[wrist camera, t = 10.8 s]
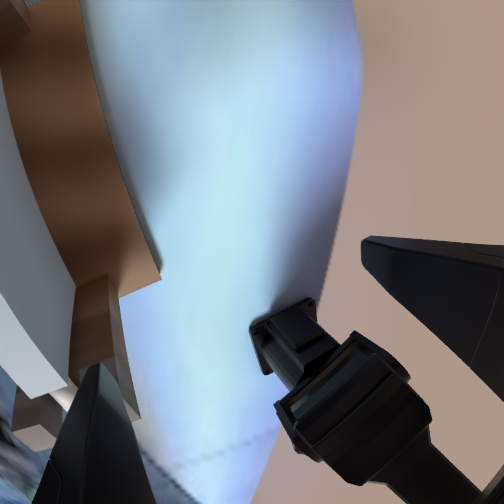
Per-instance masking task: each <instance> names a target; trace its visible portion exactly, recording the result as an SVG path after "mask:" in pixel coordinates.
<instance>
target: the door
mask: <svg viewBox="0 0 504 504" xmlns="http://www.w3.org/2000/svg"><path fill="white" fill-rule="evenodd" d="M75 289H76V285H75V283H74V281H73V280H72V278H71V276H70V274H69V272H68V270H67V268H66V266H65V264H64V262H63V260H62V258H61V256H60V254H59V252H58V250H57V248H56V246H55V244H54V241H53V239H52V237H51V235H50V233H49V230H48V228H47V226H46V224H45V221H44V219H43V216H42V214H41V212H40V209H39V207H38V204H37V202H36V199H35V197H34V194H33V191H32V189H31V186H30V183H29V180H28V177H27V175H26V172H25V169H24V166H23V163H22V159H21V156H20V153H19V150H18V146H17V143H16V139H15V136H14V132H13V128H12V125H11V121H10V116H9V112H8V108H7V103H6V99H5V94H4V89H3V83H2V77H1V71H0V365H1V366H2V367H3V369H4V370H5V371H6V372H7V373H8V374H9V376H10V377H11V378H12V379H13V380H14V381H15V382H16V384H17V385H18V386H19V387H20V388H21V389H22V390H23V391H24V392H25V393H26V394H27V395H28V396H29V398H30V399H33V398H35V397H38V396H41V395H44V394H47V393H49V394H50V395H51V396H52V397H53V398H54V399H55V400H56V401H57V402H58V403H59V404H60V405H61V406H62V407H63V408H64V409H65V410H66V411H67V412H68V410H69V408H70V406H71V403H72V401H73V399H74V397H75V394H76V392H77V390H78V387H77V386H76V385H75V384H74V383H73V382H72V381H71V379H70V378H69V377H68V369H69V348H70V334H71V323H72V313H73V305H74V297H75Z"/></svg>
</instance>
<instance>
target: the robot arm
mask: <svg viewBox="0 0 504 504" xmlns="http://www.w3.org/2000/svg"><path fill="white" fill-rule="evenodd" d="M361 261H362V264H363V266H364V268H365V269H366V270H367V271H368V272H369V273H370V274H371V275H372V276H373V277H374V278H375V279H376V280H377V281H378V282H379V283H380V284H381V285H382V287H384V289H385V290H386V291H387V292H388V293H389V294H390V295H392V296H393V297H394V298H395V299H396V300H397V301H398V302H399V303H400V304H401V305H403V306H404V307H405V308H406V309H407V310H408V311H409V312H410V313H412V314H413V315H414V316H415V317H416V318H417V319H418V320H419V321H420V322H422V323H423V324H424V325H425V326H426V327H427V328H428V329H429V330H430V331H431V332H433V333H434V334H435V335H436V336H437V337H438V338H439V339H440V340H441V341H442V342H443V343H444V344H445V345H446V346H448V347H449V348H450V349H451V350H452V351H453V352H454V353H455V354H456V355H457V356H458V357H459V358H460V359H461V360H462V361H463V362H464V363H465V364H466V365H467V366H468V367H470V369H471V370H472V371H473V372H474V373H475V374H476V375H477V376H478V377H479V378H480V379H481V380H482V381H483V382H484V383H485V384H486V385H487V386H488V387H489V388H490V389H491V390H492V391H493V392H494V393H495V394H496V395H497V396H498V397H499V398H500V399H501V400H502V401H503V402H504V245H485V244H472V243H460V242H449V241H437V240H423V239H412V238H398V237H397V238H396V237H383V236H369V237H367V238H365V239H363V240H362V241H361ZM256 330H257V331H256ZM255 331H256V332H255ZM249 334H250V337H251V340H252V344H253V347H254V350H255V353H256V356H257V359H258V362H259V366H260V369H261V372H262V373H263V374H264V375H269V374H271V373H273V372H275V374H276V375H277V376H278V377H279V379H280V380H281V381H282V383H283V384H284V385H285V386H286V388H287V389H288V390H289V391H290V392H289V393H288V394H287V395H286V396H284V397H283V398H282V399H281V400H280V401H279V400H278V401H277V402H276V403H274V404H273V405H274V407H275V409H276V411H277V412H276V414H277V415H278V417H279V419H280V421H281V423H282V425H283V427H284V428H285V430H286V432H287V434H288V435H289V437H290V439H291V442H292V445H293V448H294V450H295V451H296V452H297V453H298V454H305V455H306V456H308V457H310V458H311V459H312V460H314V461H316V462H318V463H320V462H321V461H324V462H326V464H328V465H329V466H330V467H331V468H332V469H333V470H334V471H335V472H336V473H338V475H340V476H341V477H342V478H343V479H344V480H345V481H346V482H347V483H350V484H354V485H357V486H362V485H364V484H365V483H366V482H368V483H375V484H383V485H386V486H387V487H388V488H390V489H391V490H392V491H393V492H394V493H395V494H396V495H397V496H398V497H400V498H401V499H402V500H403V501H404V502H405V503H406V504H504V465H503V466H502V467H501V469H500V470H499V471H498V473H497V474H496V475H495V476H494V478H493V479H492V480H491V482H490V483H489V484H488V485H487V486H486V488H485V489H484V490H483V491H482V492H481V491H480V490H479V489H478V488H477V487H476V486H475V485H474V484H473V483H472V482H471V481H470V480H469V479H468V478H467V477H466V476H465V475H464V474H463V473H462V472H461V471H459V470H458V469H457V468H456V467H455V466H454V465H453V464H452V463H451V462H450V461H449V460H448V459H447V458H446V457H445V456H444V455H443V454H442V453H441V452H440V451H439V450H438V449H437V448H436V447H435V446H434V445H433V444H432V443H431V438H430V431H429V424H430V423H431V422H432V417H431V413H430V409H429V406H428V405H427V404H426V403H425V402H424V400H423V399H422V398H421V397H420V396H419V395H418V394H417V393H416V392H415V391H414V390H413V389H412V387H410V385H409V384H408V381H409V380H410V379H411V377H410V375H409V373H408V372H407V370H406V369H405V368H404V367H403V366H402V365H401V364H400V363H399V362H398V361H397V360H396V359H395V358H394V357H393V356H392V355H391V354H389V353H388V352H387V351H385V350H384V349H383V348H381V347H379V346H378V345H376V344H375V343H373V342H372V341H370V340H369V339H367V338H366V337H364V336H363V335H361V334H360V333H358V332H356V331H355V330H354V331H353V332H352V333H351V334H350V337H349V338H348V339H347V340H346V341H345V342H344V343H343V344H342V345H340V344H339V343H338V342H337V341H336V340H335V339H334V338H333V337H332V336H331V335H329V334H328V333H327V332H326V331H325V330H324V329H323V328H322V327H321V326H320V325H319V324H318V323H317V315H316V306H315V300H313V299H312V298H310V297H309V298H307V299H305V300H303V301H301V302H299V303H297V304H295V305H293V306H291V307H290V308H288V309H286V310H284V311H282V312H280V313H278V314H276V315H274V316H272V317H270V318H268V319H266V320H264V321H262V322H260V323H258V324H256V325H254V326H252V327H251V328H250V330H249ZM32 504H157V503H156V500H155V498H154V495H153V492H152V489H151V486H150V483H149V480H148V477H147V474H146V471H145V468H144V464H143V461H142V458H141V454H140V451H139V447H138V443H137V440H136V436H135V433H134V429H133V426H132V423H131V421H130V418H129V415H128V412H127V410H126V407H125V404H124V401H123V398H122V395H121V392H120V389H119V386H118V384H117V382H116V380H115V379H114V377H113V376H112V375H111V373H110V372H109V371H108V370H107V368H106V367H105V366H104V364H102V363H101V362H98V363H96V364H93V365H91V366H89V367H88V369H87V371H86V373H85V375H84V377H83V379H82V381H81V384H80V386H79V388H78V390H77V392H76V394H75V397H74V399H73V401H72V403H71V406H70V408H69V410H68V413H67V415H66V417H65V420H64V422H63V424H62V427H61V429H60V432H59V434H58V437H57V439H56V442H55V444H54V447H53V449H52V452H51V455H50V460H48V463H47V465H46V468H45V471H44V474H43V476H42V479H41V482H40V484H39V487H38V489H37V491H36V494H35V496H34V499H33V501H32Z"/></svg>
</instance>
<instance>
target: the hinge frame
mask: <svg viewBox="0 0 504 504" xmlns="http://www.w3.org/2000/svg"><path fill="white" fill-rule="evenodd" d="M0 71H1V77H2V83H3V89H4V94H5V99H6V103H7V108H8V112H9V116H10V121H11V125H12V128H13V132H14V136H15V139H16V143H17V146H18V150H19V153H20V156H21V159H22V163H23V166H24V169H25V172H26V175H27V177H28V180H29V183H30V186H31V189H32V191H33V194H34V197H35V199H36V202H37V204H38V207H39V209H40V212H41V214H42V216H43V219H44V221H45V224H46V226H47V228H48V230H49V233H50V235H51V237H52V239H53V241H54V244H55V246H56V248H57V250H58V252H59V254H60V256H61V258H62V260H63V262H64V264H65V266H66V268H67V270H68V272H69V274H70V276H71V278H72V280H73V281H74V283H75V285H76V289H75V297H74V305H73V313H72V323H71V334H70V348H69V369H68V377H69V378H70V379H71V381H72V382H73V383H74V384H75V385H76V386H77V387H78V388H79V386H80V384H81V381H82V379H83V377H84V375H85V373H86V371H87V369H88V367H89V366H91V365H93V364H96V363H98V362H101V363H102V364H104V366H105V367H106V368H107V370H108V371H109V372H110V373H111V375H112V376H113V377H114V379H115V380H116V382H117V384H118V386H119V389H120V392H121V395H122V398H123V401H124V404H125V407H126V410H127V412H128V415H129V418H130V421H131V422H134V421H136V420H139V419H141V416H140V412H139V408H138V404H137V400H136V395H135V391H134V387H133V382H132V377H131V373H130V368H129V362H128V357H127V352H126V346H125V340H124V334H123V328H122V321H121V314H120V306H119V298H120V297H122V296H125V295H127V294H129V293H132V292H134V291H136V290H139V289H141V288H143V287H146V286H148V285H150V284H152V283H155V282H157V281H159V280H162V279H161V276H160V274H159V271H158V269H157V267H156V264H155V262H154V259H153V257H152V254H151V252H150V250H149V247H148V245H147V242H146V239H145V237H144V234H143V232H142V229H141V227H140V224H139V221H138V219H137V216H136V213H135V210H134V208H133V205H132V202H131V199H130V197H129V194H128V191H127V188H126V185H125V182H124V179H123V176H122V173H121V170H120V167H119V164H118V161H117V158H116V155H115V152H114V148H113V145H112V142H111V138H110V135H109V132H108V128H107V125H106V121H105V118H104V114H103V110H102V107H101V103H100V99H99V95H98V91H97V87H96V83H95V79H94V75H93V71H92V66H91V62H90V57H89V52H88V47H87V42H86V37H85V32H84V26H83V21H82V15H81V8H80V2H79V0H43V1H41V2H39V3H36V4H34V5H32V6H30V7H27V6H26V4H25V2H24V1H23V0H0ZM61 427H62V406H61V405H60V404H59V403H58V402H57V401H56V400H55V399H54V398H53V397H52V396H51V395H50V394H49V393H47V394H44V395H41V396H38V397H35V398H33V399H30V398H29V396H28V395H27V394H26V393H25V392H24V391H23V390H22V389H21V388H20V387H19V386H18V385H17V389H16V395H15V402H14V410H13V419H12V429H11V433H13V434H14V435H15V436H16V437H17V438H18V439H20V440H21V441H22V442H23V443H25V444H26V445H27V446H28V447H30V448H31V449H32V450H33V451H35V452H36V451H40V450H44V449H48V448H52V447H54V444H55V442H56V439H57V437H58V434H59V432H60V429H61Z"/></svg>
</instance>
